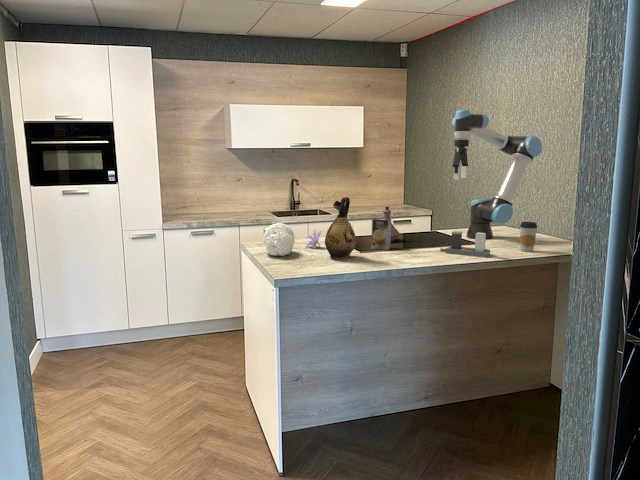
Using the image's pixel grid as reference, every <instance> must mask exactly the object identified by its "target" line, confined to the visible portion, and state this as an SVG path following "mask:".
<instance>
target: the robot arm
mask: <svg viewBox="0 0 640 480" xmlns="http://www.w3.org/2000/svg"><path fill="white" fill-rule="evenodd" d="M489 122H490V118H489V116H488V115H487V114H483V113H478V114H477V113H476V114H475V113H473V114H472V113H471V110H470V109H458V110H456V111H455V116H454V117H453V118H452V121H451V126H452V128H453V129H454V133H453V135H454V139H455V140H454V147H455V150H454V157H453V163H452V165H451V167H452V168H453V180H460V178H461V179H466V178H467V167H469V163H468V161H469V159H468V152H467V151H468V147H469V143H470V140H469V139H470V135H471V136H473V137H475V138H478V139H480V140H481V141H484V142H486V143H488V144H490V145H492V146H494V147H495V148H496V150H498V151H501V152H503V153H505V154H507V155H510V156H512V161H511V163H510V165H509V167H508V169H507V172H506V174H505V176H504V178H503V181H502V183H501V186H500V188H499V189H498V192H497V194H496V195H495V196H493V197H492V198H485V199H484V198H483V199H473V200H472V201H471V203H470V219H469V220H470V221H469V223H470V224H469V226H468V228H467V231H466V237H467V238H468V239H469V238H470V239H474V240H475V237H476V233H486V240H490V239H492V238H494V237H493V236H494V234H493V229H492V226H491V223H493V224H497V225H498V224H500V225H503V224H506V223H508V222H509V221H510V220H511V219H512V218H513V215H514V208H513V202H512V200H513V199H514V196H515V193H516V191H517V189H518V187H519V184H520V182H521V179H522V178H523V176H524V173H525V171H526V169H527V167H528V164H531V163H533V160H534V158H535V157H538V156H540V155H541V153H542V151H543V144H542V141H541V139H540V138H539V136H536V135H522V136H521V135H520V136H515V135H508V134H506V133H503V134H502V133H500V132H497V131H496V130H493V128H492V129H491V128H490V127H488V125H489ZM456 147H457V148H456ZM460 164H461V167H460Z"/></svg>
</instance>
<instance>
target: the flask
mask: <svg viewBox="0 0 640 480" xmlns="http://www.w3.org/2000/svg"><path fill="white" fill-rule="evenodd" d="M382 213H383V217H382V219H391V213H392V211H391V210H390V206H385V207H384V210H383V211H382ZM400 233H401V232H400V231H399V230H398V229H397V228H396V227H395V226H394V225H393V223H392V222H391V240H390V243H392V242H395V241H396V240H397V238H398V237H399V236H400V235H401V234H400Z"/></svg>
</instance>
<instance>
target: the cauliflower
mask: <svg viewBox="0 0 640 480" xmlns="http://www.w3.org/2000/svg"><path fill="white" fill-rule="evenodd" d="M262 239H263V245H264V247H265V250H266V252H267V253H268V254H269V255H270V256H272V257H278V256H280V257H285V256H287V255H289V254H291V252H292V251H293V249H294V245H295V243H296V242H295V239H296V238H295V234H294V231H293V229H292V228H291V226H289V225H288V224H285V223H281V222H278V223H273V224H271V225H268V227H267V228H266V230H265V231H264V234H263V237H262Z"/></svg>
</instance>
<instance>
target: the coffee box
mask: <svg viewBox="0 0 640 480" xmlns="http://www.w3.org/2000/svg"><path fill="white" fill-rule="evenodd" d="M371 220H372V223H371V249H374V250H381V251H382V250H383V251H388V250H390V249H391V242H390V240H391V223H392V219H391V218H390V219H383V217H382V218H381V217H375V218H373V219H371Z"/></svg>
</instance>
